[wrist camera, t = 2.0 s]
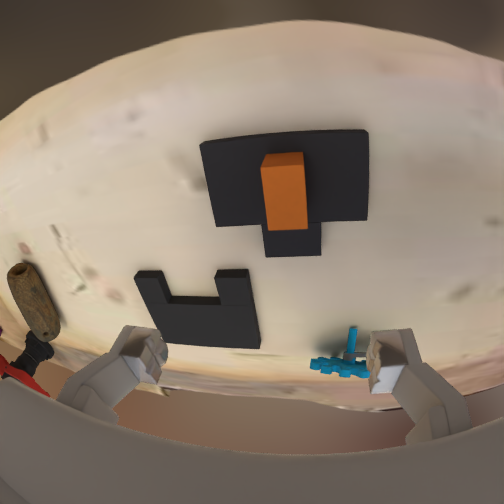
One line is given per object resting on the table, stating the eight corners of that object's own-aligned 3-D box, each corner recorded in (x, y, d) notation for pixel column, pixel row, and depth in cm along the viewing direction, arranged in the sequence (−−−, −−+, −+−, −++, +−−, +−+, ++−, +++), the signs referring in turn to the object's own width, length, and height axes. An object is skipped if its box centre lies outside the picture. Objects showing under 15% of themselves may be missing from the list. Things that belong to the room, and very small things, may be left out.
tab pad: (364, 129, 21) (382, 142, 16) (362, 246, 27) (372, 280, 23) (204, 141, 24) (181, 156, 19) (226, 250, 30) (213, 284, 25)
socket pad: (248, 269, 31) (246, 277, 30) (261, 340, 37) (259, 349, 36) (138, 270, 34) (133, 277, 32) (167, 335, 40) (164, 342, 39)
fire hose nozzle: (-39, 392, 32) (-4, 429, 26) (8, 323, 55) (53, 334, 49) (-15, 414, 37) (28, 452, 31) (27, 347, 60) (75, 362, 54)
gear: (298, 365, 36) (324, 384, 27) (304, 323, 38) (333, 329, 28) (367, 366, 37) (406, 380, 28) (373, 328, 39) (413, 333, 29)
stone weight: (72, 324, 45) (55, 349, 39) (50, 318, 46) (34, 341, 40) (37, 259, 36) (13, 283, 31) (17, 257, 38) (-5, 279, 32)
